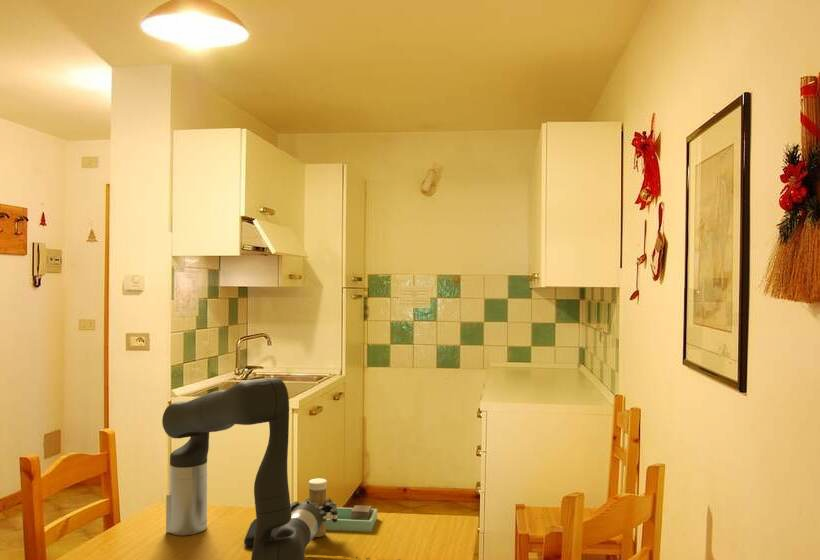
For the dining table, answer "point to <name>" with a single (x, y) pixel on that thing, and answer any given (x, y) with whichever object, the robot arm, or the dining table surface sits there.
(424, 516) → the dining table surface
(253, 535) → the carrying case or bag
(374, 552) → the dining table surface
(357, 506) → the copper block
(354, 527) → the tray
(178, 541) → the dining table surface
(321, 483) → the sprinkles bottle
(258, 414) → the robot arm
